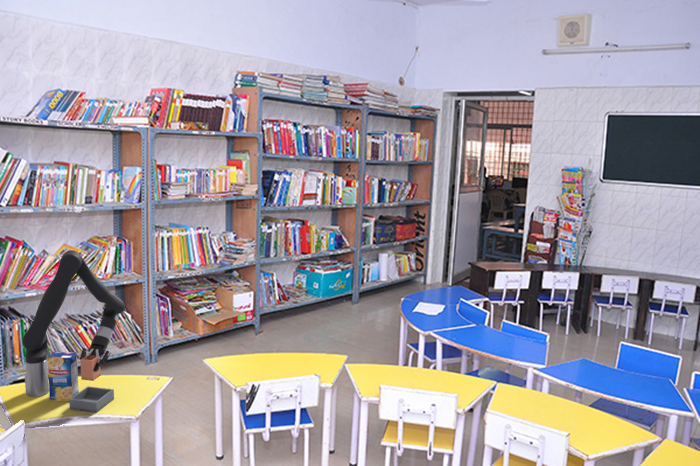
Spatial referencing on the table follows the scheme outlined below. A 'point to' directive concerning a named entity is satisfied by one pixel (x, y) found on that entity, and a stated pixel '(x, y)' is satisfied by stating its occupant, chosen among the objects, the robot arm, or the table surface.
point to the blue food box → (62, 375)
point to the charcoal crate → (91, 399)
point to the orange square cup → (89, 368)
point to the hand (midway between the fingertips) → (88, 370)
